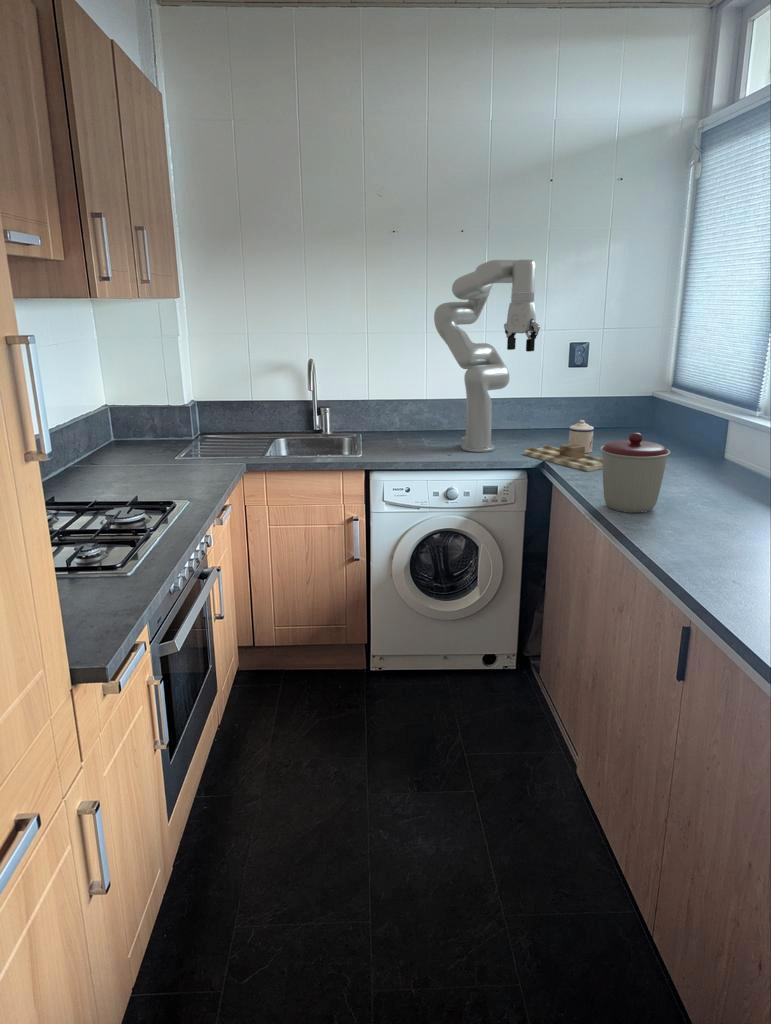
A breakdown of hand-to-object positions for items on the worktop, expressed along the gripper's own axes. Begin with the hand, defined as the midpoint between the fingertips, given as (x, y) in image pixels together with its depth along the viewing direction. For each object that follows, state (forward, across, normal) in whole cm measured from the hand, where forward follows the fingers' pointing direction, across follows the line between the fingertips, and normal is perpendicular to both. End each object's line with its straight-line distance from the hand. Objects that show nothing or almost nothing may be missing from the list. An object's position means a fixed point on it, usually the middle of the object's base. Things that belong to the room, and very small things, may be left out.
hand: (520, 350), depth 250 cm
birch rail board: (+38, +11, +14) cm, 42 cm away
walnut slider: (+37, +13, +14) cm, 41 cm away
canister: (+38, +64, -14) cm, 76 cm away
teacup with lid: (+38, +1, +30) cm, 49 cm away
